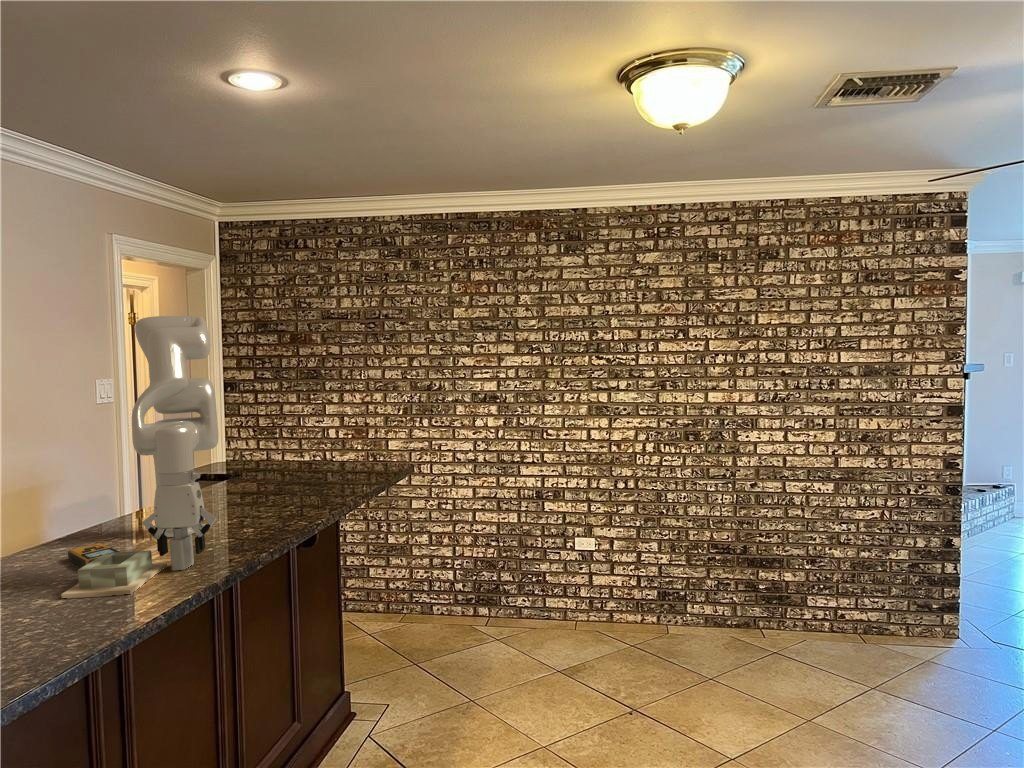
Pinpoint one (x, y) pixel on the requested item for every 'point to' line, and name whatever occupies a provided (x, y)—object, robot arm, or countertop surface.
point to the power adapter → (181, 549)
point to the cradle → (114, 574)
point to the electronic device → (88, 553)
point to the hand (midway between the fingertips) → (182, 552)
